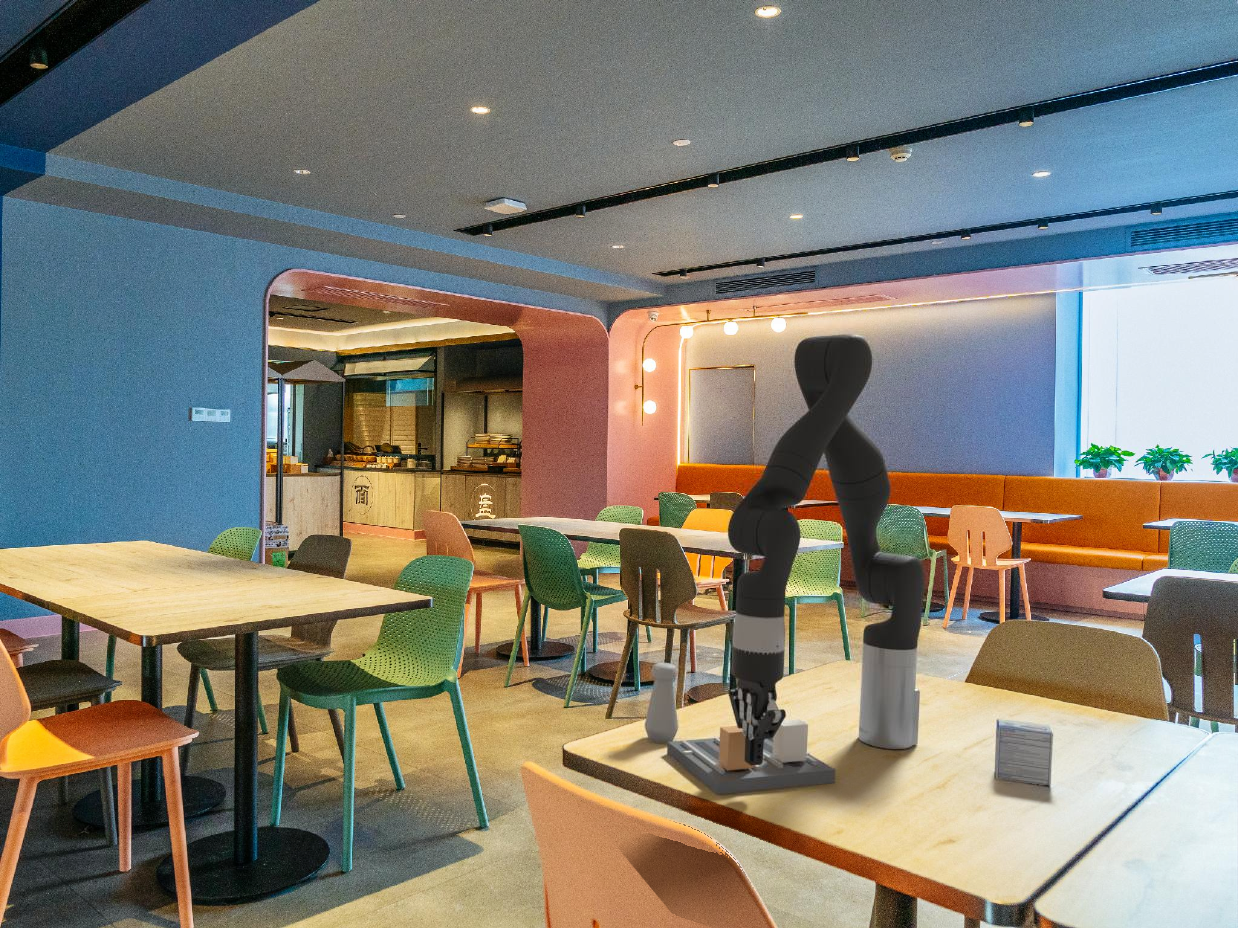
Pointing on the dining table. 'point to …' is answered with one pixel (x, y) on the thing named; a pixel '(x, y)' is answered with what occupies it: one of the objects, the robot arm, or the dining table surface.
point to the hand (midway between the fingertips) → (753, 763)
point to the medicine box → (1023, 752)
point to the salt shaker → (662, 705)
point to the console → (769, 775)
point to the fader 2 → (791, 741)
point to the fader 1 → (732, 748)
